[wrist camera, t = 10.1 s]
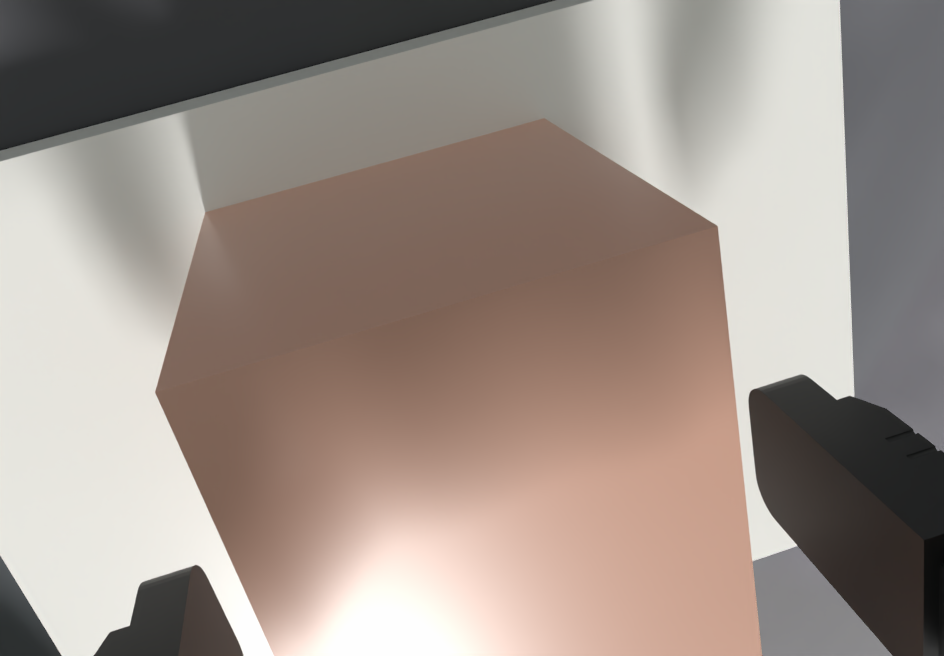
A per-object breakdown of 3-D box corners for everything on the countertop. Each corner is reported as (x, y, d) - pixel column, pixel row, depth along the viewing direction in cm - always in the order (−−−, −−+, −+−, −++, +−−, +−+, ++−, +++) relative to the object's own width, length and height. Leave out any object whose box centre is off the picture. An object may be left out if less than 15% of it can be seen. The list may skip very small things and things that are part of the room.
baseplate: (795, -65, 15) (837, -67, 13) (827, 493, 20) (859, 525, 19) (-166, 195, 13) (-207, 217, 12) (141, 723, 18) (132, 771, 17)
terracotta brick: (544, 118, 14) (717, 225, 8) (624, 549, 18) (777, 812, 12) (205, 211, 13) (155, 393, 8) (365, 634, 17) (406, 948, 12)
